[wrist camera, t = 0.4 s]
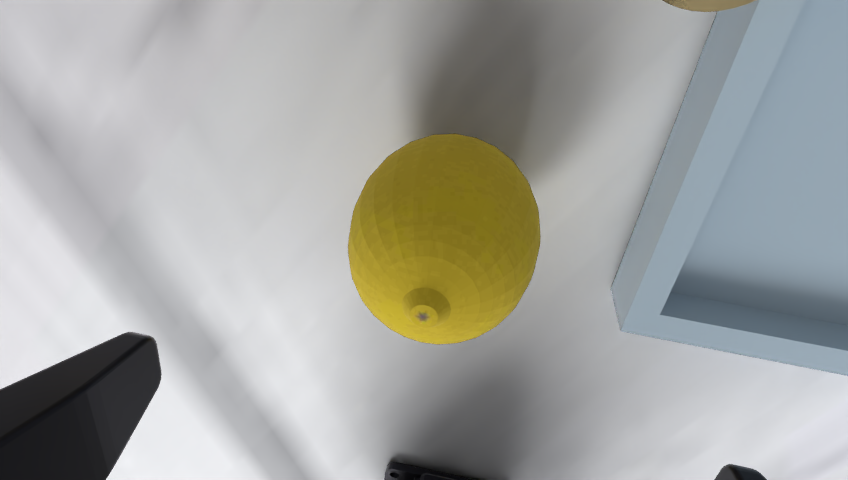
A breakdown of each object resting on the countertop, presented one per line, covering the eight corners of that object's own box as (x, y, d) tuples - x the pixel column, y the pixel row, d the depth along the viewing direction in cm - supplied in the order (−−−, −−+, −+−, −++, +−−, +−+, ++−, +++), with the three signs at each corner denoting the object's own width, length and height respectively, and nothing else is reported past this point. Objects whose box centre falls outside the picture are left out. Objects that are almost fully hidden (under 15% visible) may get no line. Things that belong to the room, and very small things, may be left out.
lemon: (531, 91, 17) (535, 203, 10) (542, 238, 20) (550, 402, 13) (370, 111, 18) (280, 224, 12) (400, 247, 21) (341, 401, 14)
